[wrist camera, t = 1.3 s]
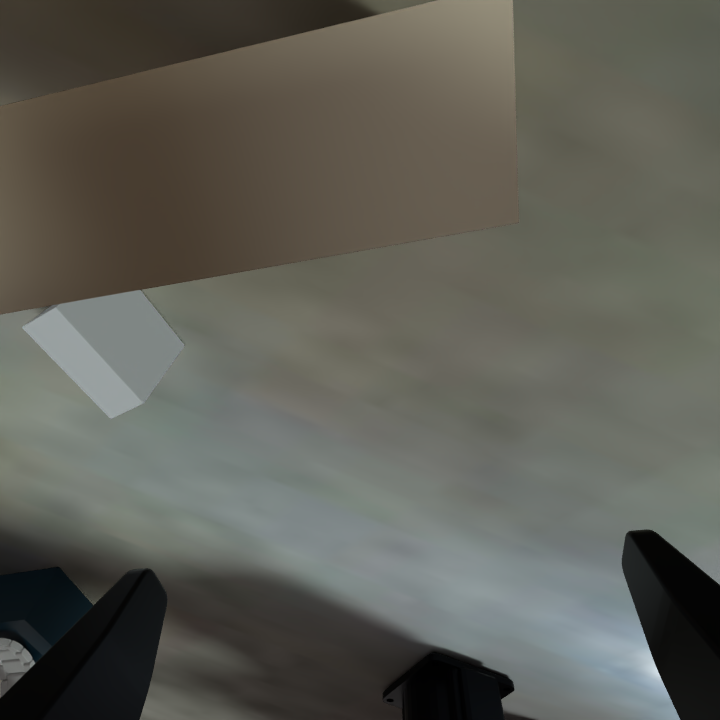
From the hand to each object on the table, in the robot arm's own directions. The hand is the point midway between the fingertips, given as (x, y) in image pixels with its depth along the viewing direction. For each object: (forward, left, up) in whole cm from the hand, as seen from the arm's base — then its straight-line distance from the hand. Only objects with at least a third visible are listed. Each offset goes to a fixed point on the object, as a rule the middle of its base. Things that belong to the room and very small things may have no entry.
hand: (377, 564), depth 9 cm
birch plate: (+5, +5, -11) cm, 13 cm away
